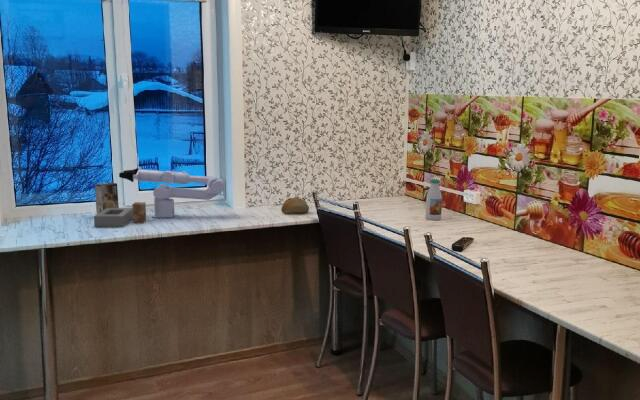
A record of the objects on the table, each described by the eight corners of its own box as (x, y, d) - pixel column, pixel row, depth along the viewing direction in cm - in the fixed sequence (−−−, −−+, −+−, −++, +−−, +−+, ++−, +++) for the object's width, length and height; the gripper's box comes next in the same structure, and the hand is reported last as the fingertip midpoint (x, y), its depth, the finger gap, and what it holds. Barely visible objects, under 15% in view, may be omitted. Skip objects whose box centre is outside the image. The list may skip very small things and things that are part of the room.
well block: (133, 217, 289) (133, 207, 288) (123, 226, 269) (122, 216, 269) (106, 217, 288) (106, 208, 287) (94, 227, 268) (93, 216, 268)
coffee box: (112, 212, 300) (110, 182, 297) (119, 214, 297) (117, 183, 294) (96, 215, 293) (94, 184, 290) (103, 217, 289) (101, 185, 286)
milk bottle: (423, 219, 291) (425, 180, 287) (428, 216, 297) (429, 178, 294) (438, 221, 287) (440, 181, 283) (442, 218, 294) (444, 179, 290)
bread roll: (278, 212, 305) (278, 197, 304) (305, 210, 311) (305, 195, 310) (284, 216, 297) (284, 200, 295) (311, 213, 302) (311, 198, 301)
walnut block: (146, 220, 283) (145, 202, 282) (143, 222, 278) (143, 204, 277) (135, 220, 283) (134, 202, 281) (133, 222, 278) (132, 204, 276)
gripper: (152, 166, 295) (125, 164, 294) (146, 169, 281) (117, 167, 280) (152, 179, 296) (124, 178, 295) (146, 184, 282) (117, 182, 281)
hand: (121, 173), depth 288 cm, fingers open, 7 cm apart
